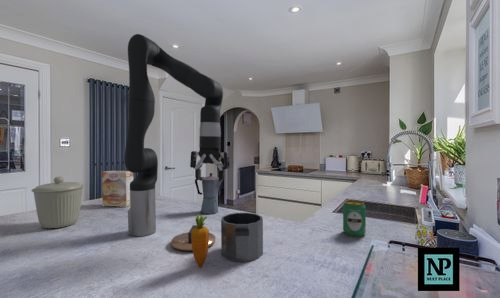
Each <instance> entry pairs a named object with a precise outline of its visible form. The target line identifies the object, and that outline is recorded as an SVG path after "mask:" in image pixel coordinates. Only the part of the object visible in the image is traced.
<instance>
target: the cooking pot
mask: <svg viewBox="0 0 500 298" xmlns="http://www.w3.org/2000/svg"><path fill="white" fill-rule="evenodd" d="M220 222H221V223H220V225H221V226H220V227H221V228H220V229H221V230H220V232H221V233H220V234H221V239H220V240H221V244H220V245H221V246H220V248H221V257H223V258H224V259H225V260H227V261H231V262H235V263H248V262H252V261H255V260H258V259H259V258H261V257H262V256H264V227H263V226H264V223H263V222H264V221H263V216H262V215H260V214H258V213H254V212H253V213H252V212H234V213H228V214H226V215H223V216H222V217H221V220H220Z"/></svg>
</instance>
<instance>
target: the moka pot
mask: <svg viewBox="0 0 500 298" xmlns="http://www.w3.org/2000/svg"><path fill="white" fill-rule="evenodd" d="M199 181H201V187H202V192H201V191H200V187H199V182H198V180H197V178H196V177H195V179H194V183H195V187H196V191H197V194H198V195H200V196H201V195H202V202H201V209H200V213H202V214H204V215H216V214H218V213H219V205H218V193H219V188H220V186H221V184H222V182H223V181H224V179H223V180H222V181H219V176H213V173H212V172H210V173H209V175H208V176H201V179H200V180H199Z"/></svg>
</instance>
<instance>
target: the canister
mask: <svg viewBox="0 0 500 298" xmlns="http://www.w3.org/2000/svg"><path fill="white" fill-rule="evenodd" d="M84 187H85V185H84V184H82V183H80V182H76V181H65V179H64V177H63V176H55V177H54V178H53V182H50V183H43V184H40V185H37V186H36V187H34V188H32V189H31V192H32V193H33V196H34V203H35V209H36V215H37V220H38V224H39V226H40V227H41V228H43V229H47V228H48V230H49V229H51V228H55V229H60V227H62V228H65V226H66V227H70V226H73V225H74V224H76V223H77V222H78V220H79V218H80V212H81V204H82V195H83V189H84ZM69 225H70V226H69Z"/></svg>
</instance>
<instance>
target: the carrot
mask: <svg viewBox="0 0 500 298" xmlns="http://www.w3.org/2000/svg"><path fill="white" fill-rule="evenodd" d="M207 218H208V216H204V215H200V214H196V217H195V223H196V225H197V226H198V227H195V228H194V229H192V231H191V241H192V250H193V251H192V254H193V258H194V260H195V262H196V264H197V266H198V267H199V268H202V267H204V266H203V265H204V264H205V262H206V259H207V256H208V253H209V252H208V251H209V247H208V246H209V233H210V231H209V228H208V227H206V226H204V225H205V221H206V219H207Z"/></svg>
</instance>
